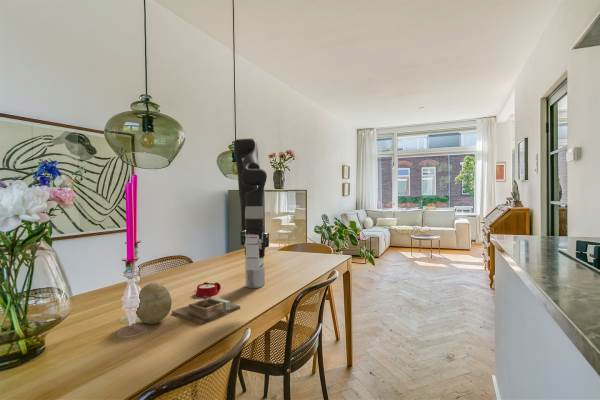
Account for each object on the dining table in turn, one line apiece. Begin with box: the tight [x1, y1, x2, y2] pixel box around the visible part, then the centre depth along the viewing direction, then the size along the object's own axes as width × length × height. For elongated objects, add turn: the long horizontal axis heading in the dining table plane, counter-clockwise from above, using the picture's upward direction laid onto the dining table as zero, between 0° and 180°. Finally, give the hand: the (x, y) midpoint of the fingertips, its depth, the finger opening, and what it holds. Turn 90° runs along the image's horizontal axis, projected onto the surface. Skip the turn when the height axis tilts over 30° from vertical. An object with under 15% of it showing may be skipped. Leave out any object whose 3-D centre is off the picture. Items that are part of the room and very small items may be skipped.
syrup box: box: [246, 234, 265, 270], centre depth 138 cm, size 6×6×14 cm
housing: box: [171, 296, 241, 325], centre depth 136 cm, size 20×18×5 cm
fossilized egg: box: [135, 281, 173, 325], centre depth 124 cm, size 13×13×15 cm
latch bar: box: [211, 296, 231, 310], centre depth 136 cm, size 2×10×3 cm, turn 55°
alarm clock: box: [194, 281, 221, 298], centre depth 161 cm, size 10×6×15 cm
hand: (254, 256), depth 138 cm, fingers closed on syrup box, 7 cm apart
